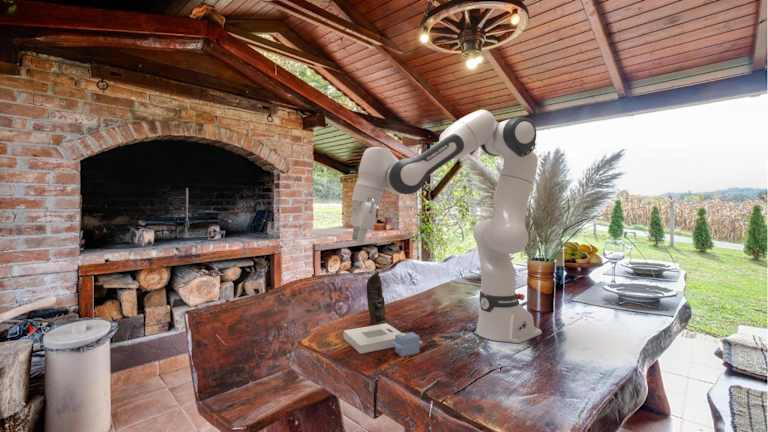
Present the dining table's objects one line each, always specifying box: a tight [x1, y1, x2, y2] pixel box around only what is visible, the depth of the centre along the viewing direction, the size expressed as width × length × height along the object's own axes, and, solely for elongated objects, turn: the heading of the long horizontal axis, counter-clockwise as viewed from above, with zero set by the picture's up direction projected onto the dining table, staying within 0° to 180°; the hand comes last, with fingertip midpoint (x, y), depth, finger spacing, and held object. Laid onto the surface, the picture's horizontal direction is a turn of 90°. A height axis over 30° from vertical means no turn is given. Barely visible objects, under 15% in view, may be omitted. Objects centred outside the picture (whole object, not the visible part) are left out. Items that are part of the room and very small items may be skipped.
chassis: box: [343, 323, 402, 355], centre depth 114 cm, size 16×14×3 cm
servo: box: [392, 331, 424, 357], centre depth 105 cm, size 8×4×6 cm, turn 117°
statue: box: [366, 270, 389, 326], centre depth 130 cm, size 7×7×20 cm
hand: (356, 242), depth 109 cm, fingers open, 8 cm apart
